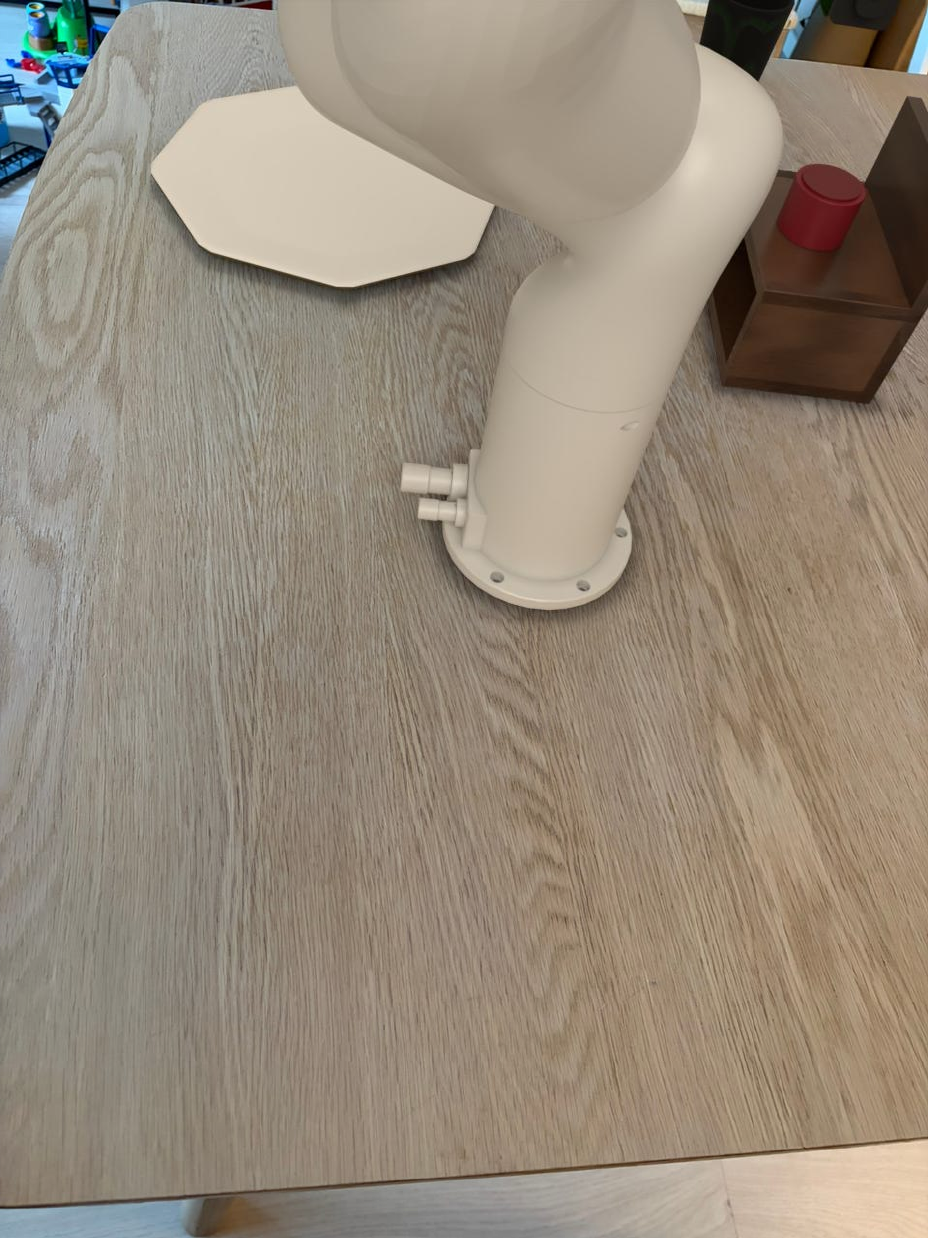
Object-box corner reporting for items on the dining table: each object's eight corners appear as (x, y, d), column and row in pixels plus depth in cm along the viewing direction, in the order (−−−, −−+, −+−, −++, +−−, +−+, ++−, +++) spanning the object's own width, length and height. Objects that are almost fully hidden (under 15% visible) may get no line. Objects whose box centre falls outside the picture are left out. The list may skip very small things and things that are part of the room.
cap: (782, 246, 76) (804, 197, 72) (771, 205, 79) (791, 156, 75) (849, 255, 76) (874, 206, 73) (836, 214, 79) (859, 165, 76)
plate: (521, 150, 95) (524, 134, 94) (444, 331, 79) (447, 315, 78) (238, 73, 96) (237, 57, 95) (105, 237, 80) (102, 220, 79)
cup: (662, 98, 104) (699, -30, 94) (728, 96, 106) (771, -30, 96) (693, 141, 100) (735, 11, 90) (761, 137, 102) (810, 11, 92)
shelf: (722, 386, 80) (804, 200, 67) (699, 259, 89) (767, 74, 76) (869, 403, 81) (979, 224, 68) (831, 277, 90) (922, 97, 77)
